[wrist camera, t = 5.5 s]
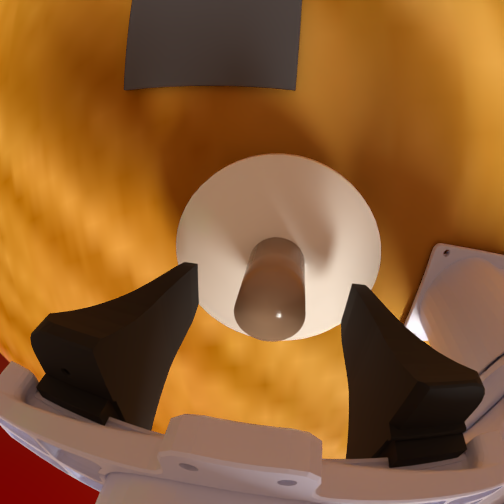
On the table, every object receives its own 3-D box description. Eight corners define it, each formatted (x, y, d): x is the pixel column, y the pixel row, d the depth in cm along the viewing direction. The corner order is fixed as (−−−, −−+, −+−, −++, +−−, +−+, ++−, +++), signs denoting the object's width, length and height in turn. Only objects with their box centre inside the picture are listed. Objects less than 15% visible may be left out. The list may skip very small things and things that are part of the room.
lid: (392, 165, 12) (435, 194, 8) (355, 336, 17) (365, 400, 12) (175, 151, 13) (123, 173, 9) (189, 320, 18) (162, 379, 14)
